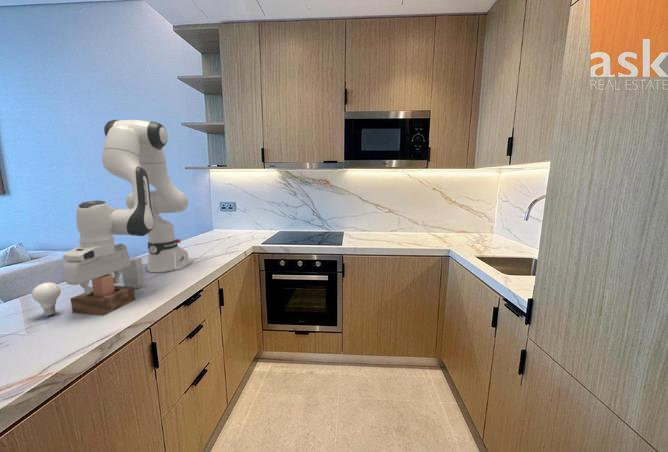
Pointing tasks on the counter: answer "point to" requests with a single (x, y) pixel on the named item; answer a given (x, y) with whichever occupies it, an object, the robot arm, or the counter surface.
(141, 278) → the skincare box
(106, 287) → the terracotta peg
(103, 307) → the walnut socket block
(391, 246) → the counter surface
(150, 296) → the counter surface
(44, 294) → the lightbulb
